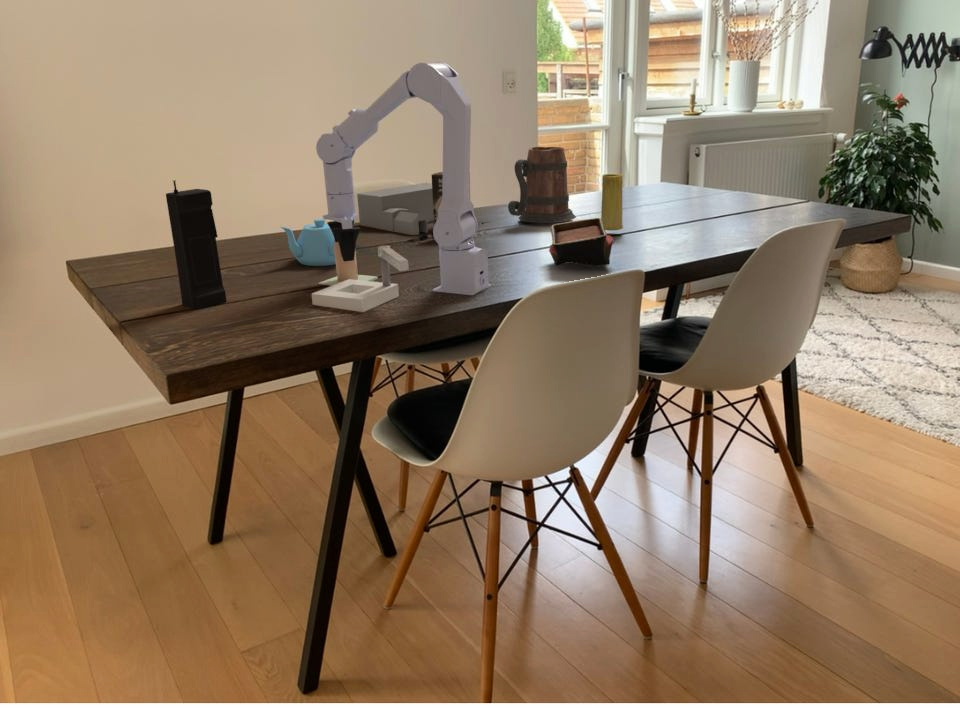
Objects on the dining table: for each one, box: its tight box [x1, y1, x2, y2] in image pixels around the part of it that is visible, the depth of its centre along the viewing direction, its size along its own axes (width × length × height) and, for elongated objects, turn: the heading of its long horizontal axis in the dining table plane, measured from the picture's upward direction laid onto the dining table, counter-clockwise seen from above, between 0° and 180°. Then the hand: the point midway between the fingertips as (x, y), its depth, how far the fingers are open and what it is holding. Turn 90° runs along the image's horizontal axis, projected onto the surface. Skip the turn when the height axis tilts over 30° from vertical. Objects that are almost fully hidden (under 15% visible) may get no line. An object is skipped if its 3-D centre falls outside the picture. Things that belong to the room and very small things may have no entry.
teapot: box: [280, 218, 336, 267], centre depth 193 cm, size 15×15×10 cm
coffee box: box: [431, 171, 471, 226], centre depth 220 cm, size 9×6×16 cm
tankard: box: [507, 146, 576, 224], centre depth 235 cm, size 24×17×20 cm
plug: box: [334, 242, 359, 282], centre depth 174 cm, size 4×4×8 cm
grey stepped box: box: [356, 182, 434, 243], centre depth 228 cm, size 25×23×11 cm
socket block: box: [311, 257, 400, 313], centre depth 159 cm, size 12×12×8 cm
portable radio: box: [165, 179, 227, 310], centre depth 156 cm, size 8×6×25 cm
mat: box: [318, 274, 379, 287], centre depth 175 cm, size 9×9×1 cm
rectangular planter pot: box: [548, 217, 614, 267], centre depth 184 cm, size 14×18×10 cm
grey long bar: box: [377, 245, 410, 272], centre depth 153 cm, size 15×2×2 cm, turn 21°
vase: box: [600, 173, 624, 231], centre depth 218 cm, size 6×6×14 cm
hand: (346, 257), depth 173 cm, fingers open, 7 cm apart
